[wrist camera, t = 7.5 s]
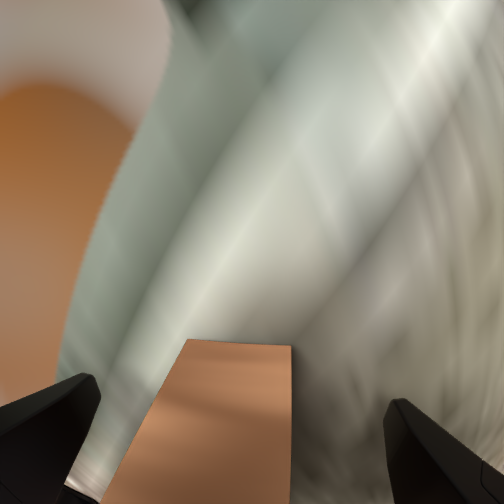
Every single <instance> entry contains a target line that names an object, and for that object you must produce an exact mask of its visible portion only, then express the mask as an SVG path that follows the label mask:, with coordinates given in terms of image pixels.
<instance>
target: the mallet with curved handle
mask: <svg viewBox="0 0 504 504" xmlns="http://www.w3.org/2000/svg"><path fill="white" fill-rule="evenodd" d="M290 474H291V346H286V345H260V344H242V343H228V342H215V341H204V340H194V339H187V341H186V343H185V345H184V346H183V348H182V350H181V352H180V354H179V355H178V357H177V359H176V361H175V363H174V365H173V366H172V368H171V370H170V372H169V374H168V376H167V377H166V379H165V381H164V383H163V385H162V387H161V388H160V390H159V392H158V394H157V396H156V398H155V400H154V401H153V403H152V405H151V407H150V409H149V411H148V413H147V414H146V416H145V418H144V420H143V422H142V424H141V426H140V428H139V429H138V431H137V433H136V435H135V437H134V439H133V441H132V443H131V444H130V446H129V448H128V450H127V452H126V454H125V456H124V458H123V460H122V462H121V463H120V465H119V467H118V469H117V471H116V473H115V475H114V477H113V479H112V481H111V483H110V485H109V487H108V488H107V490H106V492H105V494H104V496H103V498H102V500H101V502H100V504H289V502H290Z"/></svg>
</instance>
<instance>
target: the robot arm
mask: <svg viewBox="0 0 504 504" xmlns="http://www.w3.org/2000/svg"><path fill="white" fill-rule="evenodd" d="M100 400H101V393H100V390H99V387H98V385H97V382H96V379H95V377H94V376H93V375H91V374H87V373H80V374H77V375H75V376H73V377H71V378H68V379H66V380H64V381H61V382H59V383H57V384H54V385H52V386H50V387H47V388H45V389H43V390H40V391H38V392H36V393H33V394H31V395H28V396H26V397H24V398H21V399H19V400H16V401H14V402H11V403H9V404H6V405H4V406H1V407H0V504H96V503H95V502H94V501H93V500H91V499H90V498H88V497H85V496H83V495H81V494H79V493H77V492H75V491H73V490H71V489H69V488H67V487H65V486H63V485H64V483H65V480H66V478H67V476H68V474H69V472H70V470H71V468H72V465H73V463H74V461H75V459H76V457H77V455H78V453H79V451H80V449H81V447H82V445H83V443H84V441H85V439H86V437H87V434H88V432H89V429H90V427H91V424H92V421H93V419H94V416H95V413H96V411H97V408H98V405H99V403H100ZM383 428H384V437H385V447H386V458H387V467H388V473H389V477H390V482H391V487H392V493H393V498H394V503H395V504H504V475H503V474H502V473H500V472H499V471H497V470H496V469H495V468H493V467H492V466H490V465H489V464H488V463H487V462H485V461H484V460H483V461H482V459H481V458H480V457H479V456H477V455H476V454H475V453H474V452H472V451H471V450H470V449H468V448H467V447H466V446H465V445H463V444H462V443H461V442H460V441H458V440H457V439H456V438H454V437H453V436H452V435H451V434H449V433H448V432H447V431H446V430H444V429H443V428H442V427H441V426H439V425H438V424H437V423H436V422H434V421H433V420H432V419H431V418H429V417H428V416H427V415H426V414H424V413H423V412H422V411H421V410H419V409H418V408H417V407H416V406H414V405H413V404H412V403H411V402H409V401H408V400H407V399H405V398H400V399H393V400H392V401H391V402H390V404H389V407H388V409H387V412H386V414H385V416H384V420H383Z"/></svg>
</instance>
